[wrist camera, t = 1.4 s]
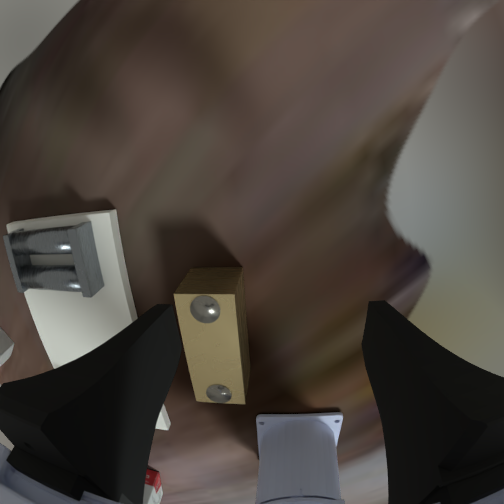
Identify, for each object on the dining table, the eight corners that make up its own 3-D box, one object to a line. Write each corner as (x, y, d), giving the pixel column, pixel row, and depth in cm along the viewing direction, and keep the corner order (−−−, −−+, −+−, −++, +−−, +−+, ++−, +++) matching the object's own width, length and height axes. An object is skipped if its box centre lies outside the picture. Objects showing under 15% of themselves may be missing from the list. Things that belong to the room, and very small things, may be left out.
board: (170, 423, 28) (168, 430, 27) (79, 404, 29) (75, 410, 28) (116, 209, 20) (109, 212, 20) (13, 221, 22) (6, 224, 21)
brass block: (250, 369, 24) (245, 405, 20) (207, 367, 24) (196, 402, 21) (242, 266, 21) (234, 295, 17) (191, 267, 21) (172, 294, 18)
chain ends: (151, 424, 27) (145, 439, 25) (85, 410, 28) (77, 422, 26) (91, 221, 20) (75, 229, 18) (18, 228, 21) (2, 235, 19)
